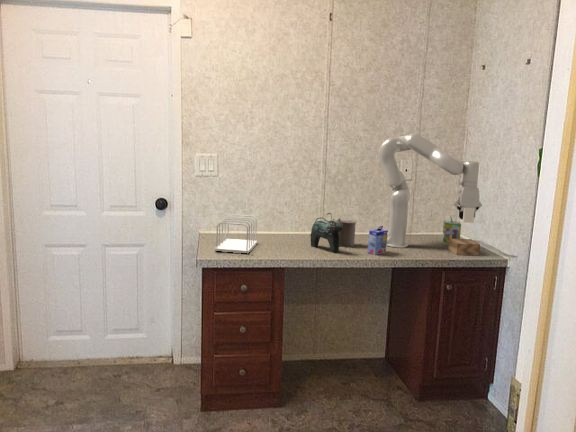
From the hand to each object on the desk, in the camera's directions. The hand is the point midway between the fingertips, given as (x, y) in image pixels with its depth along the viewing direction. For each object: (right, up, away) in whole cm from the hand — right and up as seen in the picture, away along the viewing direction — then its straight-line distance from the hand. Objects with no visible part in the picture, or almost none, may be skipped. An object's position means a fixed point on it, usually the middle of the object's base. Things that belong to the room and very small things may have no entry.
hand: (466, 218), depth 267 cm
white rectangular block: (0, -2, 0) cm, 2 cm away
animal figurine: (-76, -17, 0) cm, 77 cm away
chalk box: (+1, -14, +30) cm, 33 cm away
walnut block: (-1, -18, +3) cm, 18 cm away
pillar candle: (-63, -15, +11) cm, 66 cm away
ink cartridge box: (-48, -18, -4) cm, 52 cm away
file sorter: (-122, -16, -2) cm, 123 cm away
